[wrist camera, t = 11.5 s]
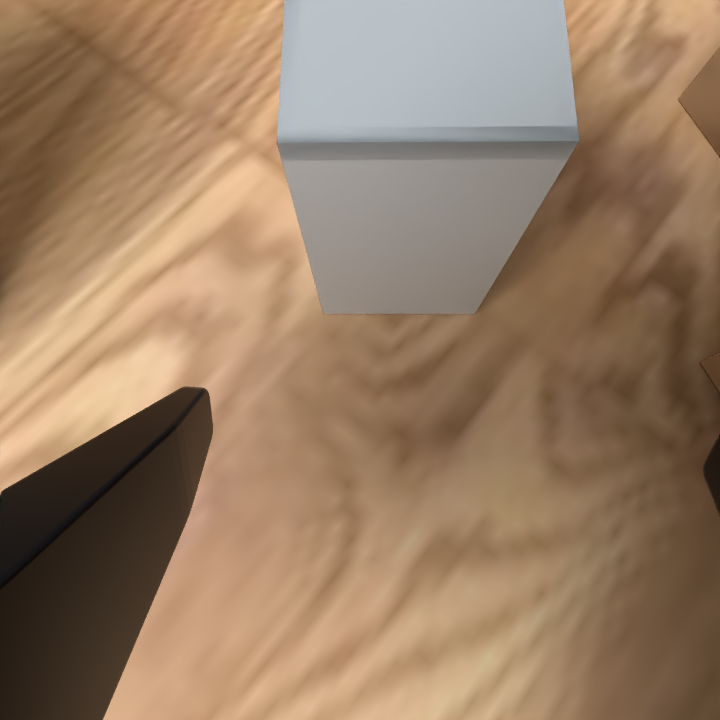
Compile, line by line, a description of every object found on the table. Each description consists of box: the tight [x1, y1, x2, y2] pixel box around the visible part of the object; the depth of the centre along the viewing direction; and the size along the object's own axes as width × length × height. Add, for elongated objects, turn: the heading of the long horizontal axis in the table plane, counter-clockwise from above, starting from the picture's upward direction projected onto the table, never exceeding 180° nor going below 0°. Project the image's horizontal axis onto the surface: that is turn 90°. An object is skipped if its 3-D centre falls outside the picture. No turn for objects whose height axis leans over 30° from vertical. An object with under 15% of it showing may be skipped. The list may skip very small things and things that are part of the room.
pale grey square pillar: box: [277, 0, 579, 314], centre depth 14 cm, size 5×5×9 cm
